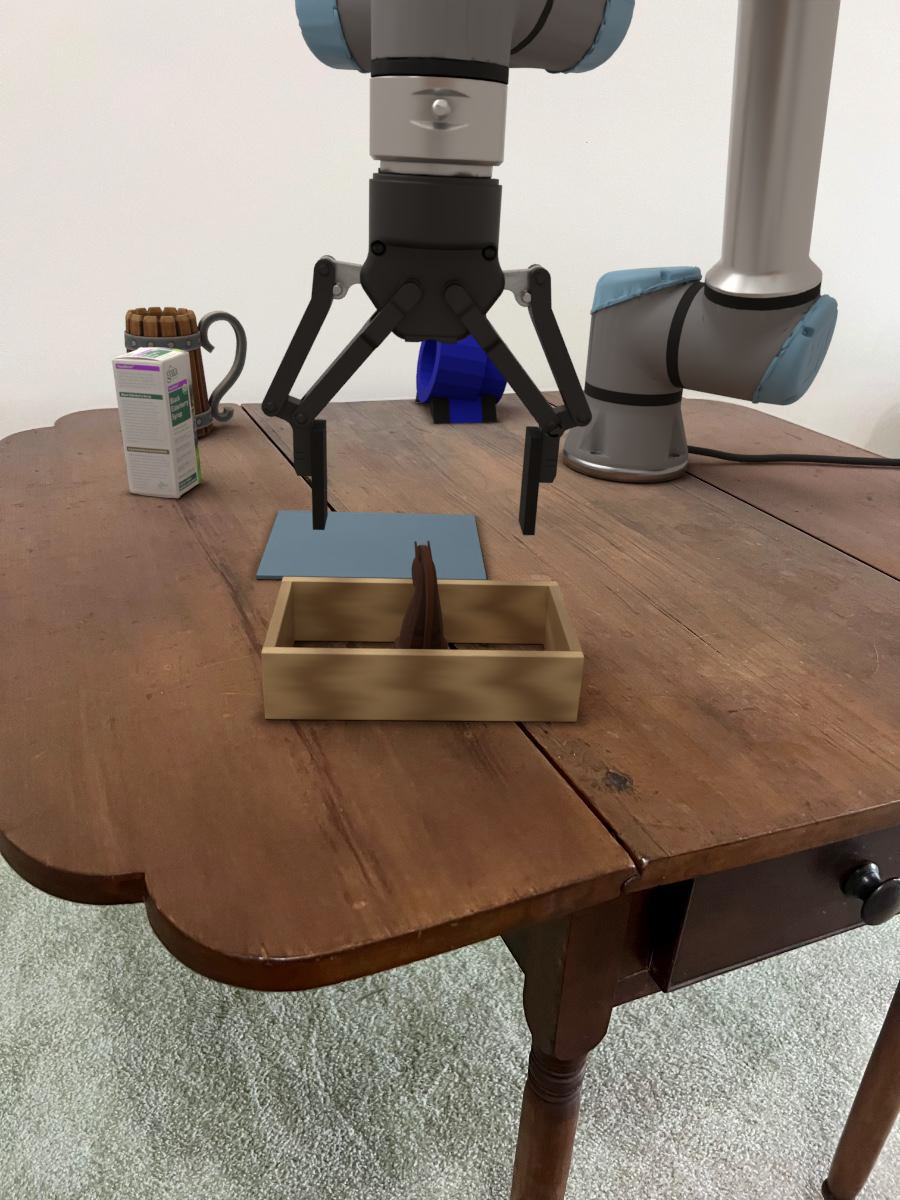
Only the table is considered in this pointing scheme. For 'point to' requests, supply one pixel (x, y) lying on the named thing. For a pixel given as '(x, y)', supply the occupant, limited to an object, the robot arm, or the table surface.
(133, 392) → the syrup box
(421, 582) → the chess piece
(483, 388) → the alarm clock
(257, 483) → the table surface
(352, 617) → the pine box
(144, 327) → the mug
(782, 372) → the robot arm
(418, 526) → the mat
